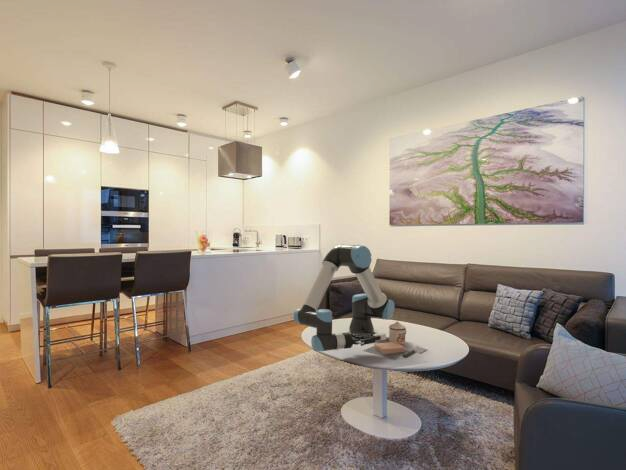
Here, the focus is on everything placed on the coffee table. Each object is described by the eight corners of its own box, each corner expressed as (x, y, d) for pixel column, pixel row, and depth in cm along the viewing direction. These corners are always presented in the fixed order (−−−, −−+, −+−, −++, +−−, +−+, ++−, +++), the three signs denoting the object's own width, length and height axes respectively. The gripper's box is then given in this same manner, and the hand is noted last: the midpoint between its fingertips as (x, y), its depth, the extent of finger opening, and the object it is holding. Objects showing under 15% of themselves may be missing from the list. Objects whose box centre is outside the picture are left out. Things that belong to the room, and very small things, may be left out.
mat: (363, 351, 179) (363, 350, 179) (379, 344, 191) (379, 343, 191) (394, 360, 167) (394, 359, 167) (409, 352, 179) (409, 351, 179)
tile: (383, 349, 173) (404, 347, 177) (374, 343, 182) (394, 341, 185) (383, 354, 173) (404, 352, 177) (374, 348, 182) (394, 346, 185)
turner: (410, 360, 168) (410, 356, 168) (398, 356, 172) (398, 353, 172) (427, 349, 183) (427, 346, 183) (416, 347, 187) (416, 343, 187)
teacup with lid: (398, 346, 188) (398, 324, 187) (385, 342, 195) (385, 321, 195) (412, 342, 195) (412, 321, 195) (399, 338, 202) (399, 318, 202)
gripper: (337, 344, 177) (378, 339, 184) (348, 352, 164) (391, 347, 172) (337, 329, 177) (378, 325, 184) (348, 337, 164) (391, 332, 172)
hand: (384, 336), depth 178 cm, fingers closed
